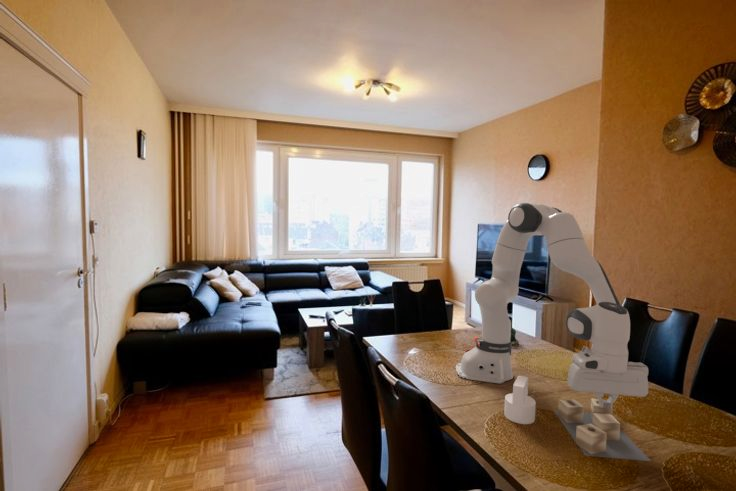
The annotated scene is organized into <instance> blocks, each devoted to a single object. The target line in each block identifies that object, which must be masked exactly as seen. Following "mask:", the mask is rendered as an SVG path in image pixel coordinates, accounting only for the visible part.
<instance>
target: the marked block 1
mask: <svg viewBox="0 0 736 491" xmlns="http://www.w3.org/2000/svg"><path fill="white" fill-rule="evenodd" d="M584 409H585V407H584V405H582V403H579V401H577V400H576V399H575V398H574V399H572V398H569V399H567V398H563V399H561V398H560V399H558V409H557V410H558V415H559V416H560V417H561V418H562V419H563V420H564V421H566V422H567V423H583V416H584V412H585V410H584Z"/></svg>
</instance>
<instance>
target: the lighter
mask: <svg viewBox="0 0 736 491" xmlns="http://www.w3.org/2000/svg"><path fill="white" fill-rule="evenodd" d="M587 350H590V347H588V346H586V345H583V346H582V348H581V351H580V352H584V351H587ZM573 362H574V360H573V359H572V363H573Z"/></svg>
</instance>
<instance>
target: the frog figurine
mask: <svg viewBox="0 0 736 491" xmlns="http://www.w3.org/2000/svg"><path fill="white" fill-rule="evenodd" d="M516 333H517V331H516V329H514V328H513V327H512V326H511V337H510V341H511V344H512V346H513V347H514V346H519V340H518V339H517V338H516Z"/></svg>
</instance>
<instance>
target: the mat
mask: <svg viewBox="0 0 736 491" xmlns="http://www.w3.org/2000/svg"><path fill="white" fill-rule="evenodd" d="M553 413H554V414H555V415H556V416H557V418H558V419H559V421H560V422H561V423H562V425H563V426H564V428H565V429H566V431H567V432H568V434H569V435H570V436H571V438H572V439H573V441H574V442H575V443H576V428H577V426H580V425H585V424H590V423H591V424H593V420H592V417H591V414H590V411H589V412H588V411H584V416H583V423H567V422H566V421H564V420H563V419H562V418H561V417H560V416H559V415H558V409H553ZM578 448H580V450H581V452H582V454H584V456H586V457H596V458H597V457H598V458H609V459H619V460H629V461H642V462H652V460H651V459H650V458H649V457H648V456H647V455H646V454H645V453H644V451H642V450H641V449H640V448H639V447H638V445H637V444H635V443H634V441H632V439H630V437H629V436H628V435H627V434H626V433H625V432H624V431H623V430H622V429H621V428H620V438H619V441H615V440H606V451H604V452H600V453H595V454H590V453H589V452H587V451H586V450H584V449H583V448H581V447H580V446H578Z"/></svg>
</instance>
